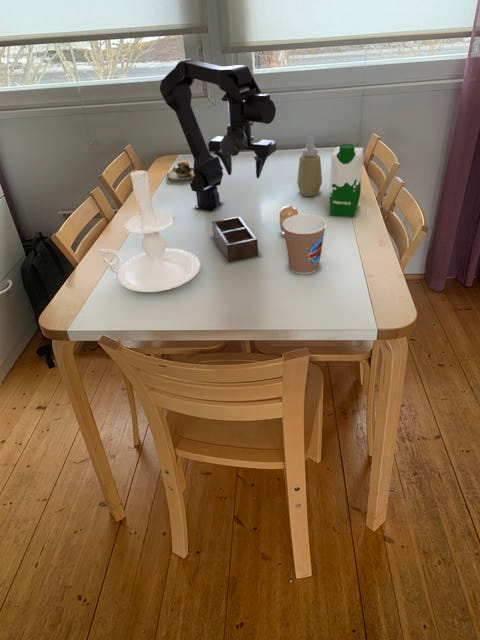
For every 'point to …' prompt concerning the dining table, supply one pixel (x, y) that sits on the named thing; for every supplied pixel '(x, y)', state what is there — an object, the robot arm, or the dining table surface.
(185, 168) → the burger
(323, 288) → the dining table surface
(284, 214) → the egg
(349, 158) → the milk carton
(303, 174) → the squeeze bottle
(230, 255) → the dark brown wooden tray
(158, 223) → the candlestick
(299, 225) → the coffee cup
